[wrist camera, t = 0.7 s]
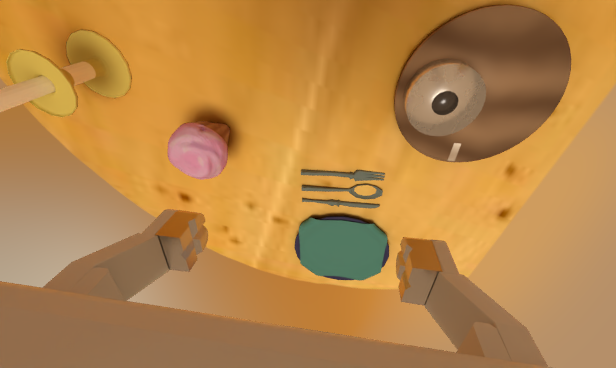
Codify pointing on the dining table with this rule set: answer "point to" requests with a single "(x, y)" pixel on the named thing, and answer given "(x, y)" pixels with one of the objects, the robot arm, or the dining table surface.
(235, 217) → the dining table surface
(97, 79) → the candle
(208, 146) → the cupcake
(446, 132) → the cover
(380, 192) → the cutlery set
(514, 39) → the platter
